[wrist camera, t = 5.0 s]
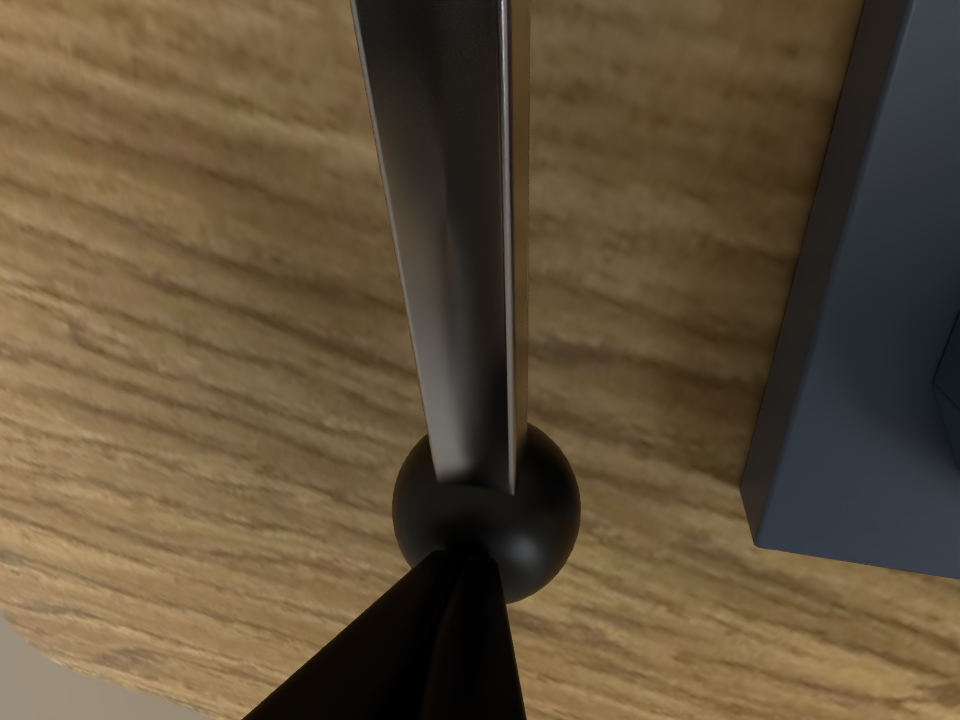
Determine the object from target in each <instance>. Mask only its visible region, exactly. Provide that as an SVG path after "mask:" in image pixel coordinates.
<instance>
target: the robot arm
mask: <svg viewBox="0 0 960 720" xmlns="http://www.w3.org/2000/svg"><path fill="white" fill-rule="evenodd" d="M242 720H527V719H526V713H525V708H524V702H523V697H522V691H521V686H520V680H519V675H518V669H517V664H516V658H515V653H514V647H513V642H512V636H511V631H510V625H509V620H508V614H507V609H506V603H505V598H504V592H503V587H502V581H501V576H500V570H499V565H498V563H497V561H496V560H494V559H490V558H484V557H478V556H473V555H470V556H468V557H467V558H466V559H465V557H464V556H463V555H462V554H461V553H455V552H450V551H444V550H435V551H432V552H431V553H430V554H429V555H427V556H426V557H425V558H424V559H423V560H422V561H421V562H420V563H418V564H417V565H416V566H415V567H414V568H413V569H412V570H410V571H409V572H408V573H407V574H406V575H405V576H404V577H403V578H401V579H400V580H399V581H398V582H397V583H396V584H395V585H394V586H392V587H391V588H390V589H389V590H388V591H387V592H386V593H384V594H383V595H382V596H381V597H380V598H379V599H378V600H377V601H375V602H374V603H373V604H372V605H371V606H370V607H369V608H367V609H366V610H365V611H364V612H363V613H362V614H361V615H360V616H358V617H357V618H356V619H355V620H354V621H353V622H352V623H350V624H349V625H348V626H347V627H346V628H345V629H344V630H343V631H341V632H340V633H339V634H338V635H337V636H336V637H335V638H334V639H332V640H331V641H330V642H329V643H328V644H327V645H326V646H324V647H323V648H322V649H321V650H320V651H319V652H318V653H317V654H315V655H314V656H313V657H312V658H311V659H310V660H309V661H307V662H306V663H305V664H304V665H303V666H302V667H301V668H300V669H298V670H297V671H296V672H295V673H294V674H293V675H292V676H290V677H289V678H288V679H287V680H286V681H285V682H284V683H283V684H281V685H280V686H279V687H278V688H277V689H276V690H275V691H274V692H272V693H271V694H270V695H269V696H268V697H267V698H266V699H264V700H263V701H262V702H261V703H260V704H259V705H258V706H257V707H255V708H254V709H253V710H252V711H251V712H250V713H249V714H247V715H246V716H245V717H244V718H243V719H242Z"/></svg>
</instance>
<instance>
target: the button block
mask: <svg viewBox="0 0 960 720" xmlns="http://www.w3.org/2000/svg"><path fill="white" fill-rule="evenodd" d="M740 493H741V497H742V501H743V505H744V508H745V512H746V516H747V520H748V524H749V527H750V531H751V535H752V539H753V542H754V545H755V546H757V547H759V548H765V549H771V550H778V551H784V552H790V553H796V554H803V555H809V556H815V557H821V558H828V559H834V560H840V561H847V562H853V563H859V564H865V565H872V566H878V567H884V568H890V569H897V570H903V571H909V572H916V573H922V574H928V575H934V576H941V577H947V578H953V579H960V0H866V1H865V5H864V9H863V13H862V17H861V21H860V24H859V28H858V32H857V36H856V40H855V44H854V48H853V52H852V56H851V59H850V63H849V67H848V71H847V75H846V79H845V83H844V87H843V91H842V94H841V98H840V102H839V106H838V110H837V114H836V118H835V122H834V126H833V130H832V133H831V137H830V141H829V145H828V149H827V153H826V157H825V161H824V165H823V168H822V172H821V176H820V180H819V184H818V188H817V192H816V196H815V200H814V203H813V207H812V211H811V215H810V219H809V223H808V227H807V231H806V235H805V238H804V242H803V246H802V250H801V254H800V258H799V262H798V266H797V270H796V273H795V277H794V281H793V285H792V289H791V293H790V297H789V301H788V305H787V308H786V312H785V316H784V320H783V324H782V328H781V332H780V336H779V340H778V343H777V347H776V351H775V355H774V359H773V363H772V367H771V371H770V375H769V378H768V382H767V386H766V390H765V394H764V398H763V402H762V406H761V410H760V413H759V417H758V421H757V425H756V429H755V433H754V437H753V441H752V445H751V448H750V452H749V456H748V460H747V464H746V468H745V472H744V476H743V480H742V483H741V487H740Z"/></svg>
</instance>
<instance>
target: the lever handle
mask: <svg viewBox="0 0 960 720" xmlns="http://www.w3.org/2000/svg"><path fill="white" fill-rule="evenodd" d="M349 1H350V7H351V12H352V18H353V23H354V29H355V34H356V40H357V45H358V51H359V56H360V62H361V67H362V73H363V79H364V84H365V90H366V95H367V101H368V106H369V112H370V117H371V123H372V128H373V134H374V139H375V145H376V150H377V156H378V162H379V167H380V173H381V178H382V184H383V189H384V195H385V200H386V206H387V211H388V217H389V222H390V228H391V233H392V239H393V245H394V250H395V256H396V261H397V267H398V272H399V278H400V283H401V289H402V294H403V300H404V305H405V311H406V316H407V322H408V328H409V333H410V339H411V344H412V350H413V355H414V361H415V366H416V372H417V377H418V383H419V388H420V394H421V399H422V405H423V411H424V416H425V422H426V427H427V433H428V434H426V435H425V436H424V437H423V438H422V439H421V440H420V441H419V442H418V443H417V444H416V445H415V446H414V448H413V449H412V450H411V452H410V453H409V455H408V456H407V458H406V460H405V461H404V463H403V465H402V467H401V469H400V472H399V474H398V477H397V480H396V484H395V487H394V492H393V500H392V519H393V525H394V531H395V536H396V539H397V542H398V545H399V547H400V550H401V552H402V554H403V555H404V557H405V559H406V561H407V563H408V564H409V565H410V567H411V568H412V569H413V568H414V567H415V566H416V565H417V564H418V563H420V562H421V561H422V560H423V559H424V558H425V557H426V556H427V555H429V554H430V553H431V552H432V551H435V550H444V551H450V552H455V553H461V554H462V555H463V556H464V557H465V559H466V558H467V557H468V556H470V555H473V556H478V557H484V558H490V559H494V560H496V561H497V563H498V565H499V570H500V576H501V581H502V587H503V592H504V598H505V603H506V604H510V603H513V602H517V601H520V600H522V599H524V598H526V597H528V596H530V595H532V594H534V593H535V592H537V591H538V590H540V589H541V588H543V587H544V586H545V585H547V584H548V583H549V582H550V581H551V580H552V579H553V578H554V577H555V576H556V575H557V574H558V572H559V571H560V570H561V568H562V567H563V566H564V564H565V563H566V561H567V559H568V557H569V555H570V554H571V552H572V550H573V547H574V544H575V542H576V539H577V535H578V531H579V526H580V516H581V502H580V493H579V489H578V485H577V481H576V477H575V475H574V472H573V470H572V468H571V466H570V464H569V462H568V460H567V458H566V457H565V455H564V454H563V452H562V451H561V450H560V448H559V447H558V446H557V445H556V443H555V442H554V441H553V440H552V439H551V438H550V437H549V436H547V435H546V434H545V433H544V432H543V431H541V430H540V429H538V428H537V427H535V426H533V425H532V424H530V423H528V422H527V408H528V278H529V149H530V19H531V0H349Z"/></svg>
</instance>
